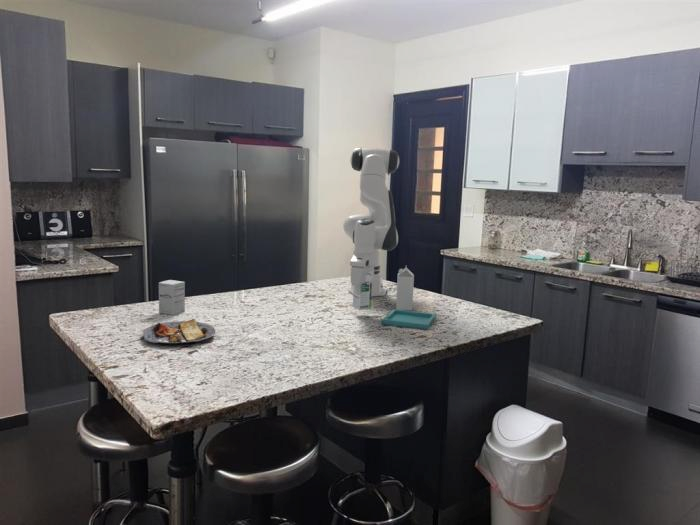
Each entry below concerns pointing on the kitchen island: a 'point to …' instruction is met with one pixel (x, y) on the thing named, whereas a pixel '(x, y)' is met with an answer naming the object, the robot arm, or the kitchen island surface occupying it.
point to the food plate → (186, 330)
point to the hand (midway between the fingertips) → (362, 292)
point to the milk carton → (404, 290)
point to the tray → (409, 319)
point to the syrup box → (363, 295)
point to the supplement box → (171, 297)
